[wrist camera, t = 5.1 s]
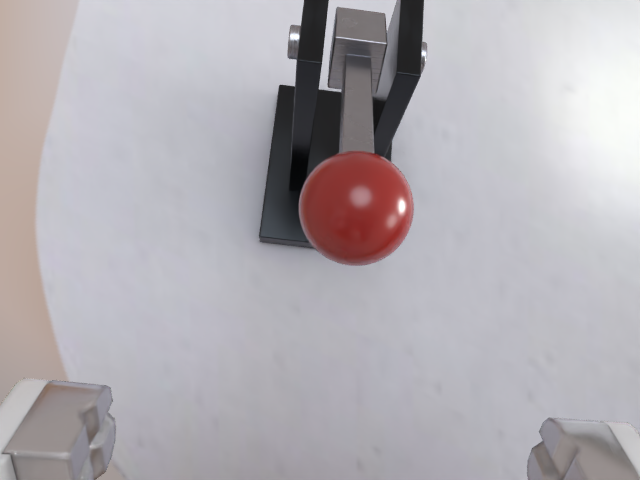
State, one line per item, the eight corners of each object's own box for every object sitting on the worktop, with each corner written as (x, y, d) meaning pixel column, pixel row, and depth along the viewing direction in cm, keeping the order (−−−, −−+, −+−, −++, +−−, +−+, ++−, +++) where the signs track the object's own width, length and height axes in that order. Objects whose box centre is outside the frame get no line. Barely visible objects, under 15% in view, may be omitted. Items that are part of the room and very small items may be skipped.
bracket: (382, 255, 34) (456, 155, 20) (259, 242, 34) (247, 130, 20) (391, 107, 38) (460, -69, 23) (279, 93, 37) (280, -94, 23)
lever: (402, 294, 17) (432, 215, 14) (289, 282, 17) (298, 200, 14) (387, 75, 26) (404, 1, 23) (313, 65, 26) (322, -10, 23)
